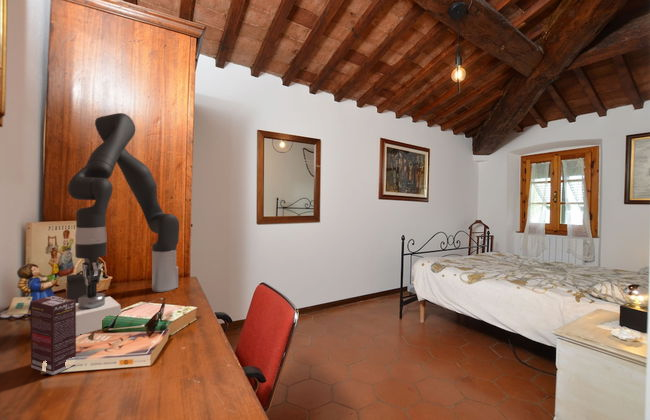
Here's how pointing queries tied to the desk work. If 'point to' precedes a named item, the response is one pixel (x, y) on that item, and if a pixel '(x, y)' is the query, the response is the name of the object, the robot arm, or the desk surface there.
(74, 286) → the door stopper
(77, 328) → the block
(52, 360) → the supplement box
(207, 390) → the desk surface
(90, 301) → the grey mushroom knob
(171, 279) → the robot arm
